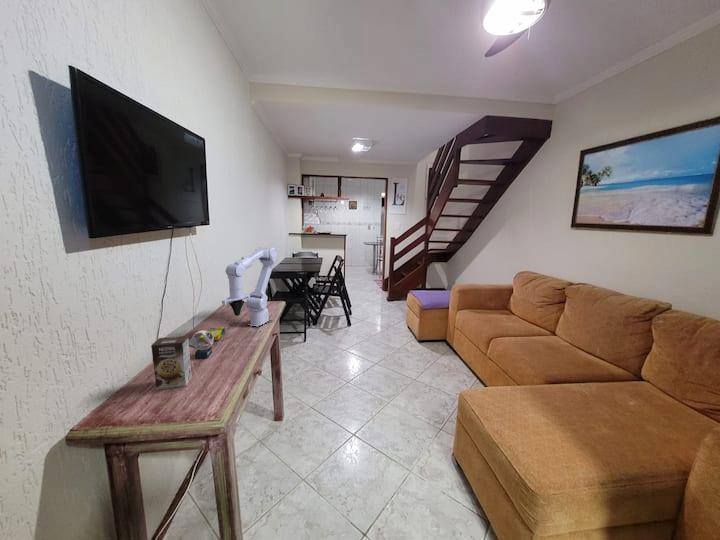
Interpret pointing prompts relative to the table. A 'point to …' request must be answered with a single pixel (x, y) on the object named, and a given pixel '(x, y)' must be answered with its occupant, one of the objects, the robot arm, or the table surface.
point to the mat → (198, 341)
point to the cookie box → (171, 362)
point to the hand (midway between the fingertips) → (237, 315)
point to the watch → (203, 351)
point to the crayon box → (215, 332)
